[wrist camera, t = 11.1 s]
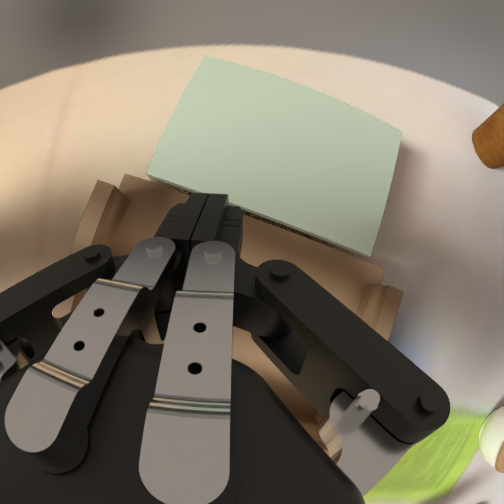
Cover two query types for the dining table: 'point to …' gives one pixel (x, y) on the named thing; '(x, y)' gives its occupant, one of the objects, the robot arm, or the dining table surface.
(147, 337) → the robot arm
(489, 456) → the lidded jar
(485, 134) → the disposable coffee cup
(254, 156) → the panel
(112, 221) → the drawer box
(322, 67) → the dining table surface
